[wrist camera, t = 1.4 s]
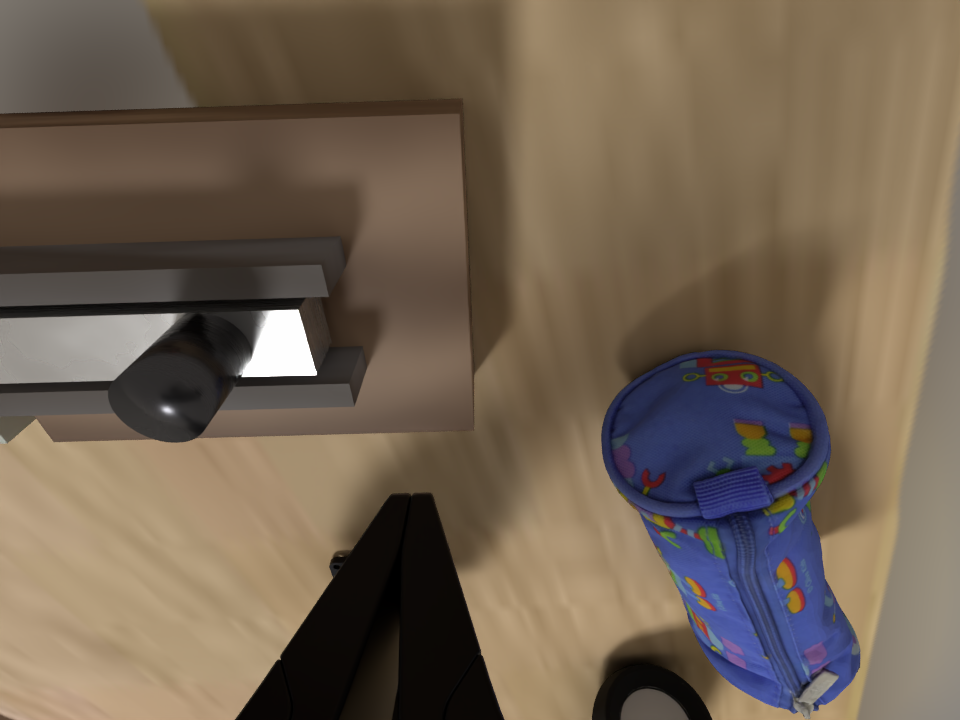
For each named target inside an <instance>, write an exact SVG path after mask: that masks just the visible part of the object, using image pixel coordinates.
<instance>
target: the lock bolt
mask: <svg viewBox="0 0 960 720" xmlns="http://www.w3.org/2000/svg"><path fill="white" fill-rule="evenodd" d="M331 343H332V341H331V337H330V333H329V329H328V325H327V321H326V316H325V312H324V308H323V304H322V300H321V297H305V298H271V299H237V300H203V301H169V302H136V303H102V304H68V305H34V306H0V384H9V383H44V382H79V381H113V382H112V383H111V385H110V387H109V390H108V399H109V403H110V406H111V408H112V410H113V411H114V413H115V414H116V415H117V416H118V418H119V419H120V420H121V421H122V422H123V423H125V424H126V425H127V426H128V427H130V428H131V429H133V430H134V431H136V432H138V433H140V434H142V435H144V436H146V437H149V438H152V439H155V440H159V441H164V442H186V441H190V440H193V439H195V438H197V437H198V436H200V435H201V434H202V433H203V432H204V430H205V429H206V427H207V426H208V424H209V423H210V422H211V420H212V419H213V417H214V416H215V414H216V413H217V411H218V410H219V409H220V407H221V406H222V404H223V403H224V401H225V400H226V398H227V397H228V396H229V394H230V393H231V391H232V390H233V388H234V387H235V385H236V384H237V383H238V381H239V380H240V378H241V377H256V376H291V375H317V372H318V370H319V368H320V366H321V364H322V362H323V360H324V358H325V355H326V353H327V351H328V349H329V347H330V345H331Z"/></svg>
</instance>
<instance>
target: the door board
mask: <svg viewBox="0 0 960 720" xmlns="http://www.w3.org/2000/svg"><path fill="white" fill-rule="evenodd" d="M305 297H321V300H322V304H323V308H324V312H325V316H326V321H327V325H328V329H329V333H330V337H331V341H332V343H331V345H330V347H329V349H328V351H327V353H326V355H325V358H324V360H323V362H322V364H321V366H320V368H319V370H318V372H317V375H291V376H256V377H241V378H240V380H239V381H238V383H237V384H236V385H235V387H234V388H233V390H232V391H231V393H230V394H229V396H228V397H227V398H226V400H225V401H224V403H223V404H222V406H221V407H220V409H219V410H218V411H217V413H216V414H215V416H214V417H213V419H212V420H211V422H210V423H209V424H208V426H207V427H206V429H205V430H204V432H203V433H202V434H201V435H200V436H198V437H197V438H218V437H254V436H290V435H327V434H363V433H399V432H436V431H472V430H474V360H473V337H472V313H471V290H470V266H469V243H468V219H467V196H466V173H465V149H464V126H463V102H462V99H442V100H411V101H380V102H349V103H318V104H287V105H256V106H225V107H194V108H166V109H165V108H164V109H134V110H102V111H71V112H41V113H9V114H0V306H34V305H68V304H102V303H136V302H169V301H203V300H237V299H271V298H305ZM112 382H113V381H79V382H44V383H9V384H0V417H6V416H35V418H36V419H37V420H38V422H39V423H40V424H41V426H42V427H43V428H44V430H45V431H46V432H47V434H48V435H49V436H50V438H51V439H52V440H53V442H72V441H109V440H145V439H152V438H149V437H146V436H144V435H142V434H140V433H138V432H136V431H134V430H133V429H131V428H130V427H128V426H127V425H126V424H125V423H123V422H122V421H121V420H120V419H119V418H118V416H117V415H116V414H115V413H114V411H113V410H112V408H111V406H110V403H109V399H108V390H109V387H110V385H111V383H112Z"/></svg>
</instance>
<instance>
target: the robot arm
mask: <svg viewBox="0 0 960 720" xmlns="http://www.w3.org/2000/svg"><path fill="white" fill-rule="evenodd" d="M329 567H330V570H331V573H332V576H333V579H332V581H331V582H330V584H329V585H328V586H327V588H326V589H325V591H324V592H323V594H322V595H321V597H320V598H319V600H318V601H317V603H316V604H315V606H314V607H313V608H312V610H311V611H310V613H309V614H308V616H307V617H306V619H305V620H304V622H303V623H302V625H301V626H300V627H299V629H298V630H297V632H296V633H295V635H294V636H293V638H292V639H291V641H290V642H289V644H288V645H287V647H286V648H285V649H284V651H283V652H282V654H281V656H280V658H281V660H277V661H276V662H275V664H274V665H273V667H272V668H271V670H270V671H269V673H268V674H267V676H266V677H265V678H264V680H263V681H262V683H261V684H260V686H259V687H258V688H257V690H256V691H255V693H254V694H253V695H252V697H251V698H250V700H249V701H248V702H247V704H246V705H245V707H244V708H243V709H242V711H241V712H240V714H239V715H238V716H237V718H236V719H235V720H504V717H503V715H502V712H501V710H500V707H499V704H498V701H497V698H496V695H495V692H494V690H493V687H492V684H491V681H490V678H489V675H488V671H487V668H486V665H485V662H484V658H483V656H482V655H481V649H480V646H479V643H478V640H477V636H476V633H475V630H474V627H473V623H472V620H471V617H470V614H469V611H468V607H467V604H466V601H465V598H464V594H463V591H462V588H461V585H460V581H459V578H458V575H457V572H456V568H455V565H454V562H453V559H452V555H451V552H450V549H449V546H448V543H447V539H446V536H445V533H444V530H443V526H442V523H441V520H440V517H439V513H438V510H437V507H436V504H435V500H434V497H433V495H432V494H431V493H414V494H413V495H412V496H411V494H409V493H394V494H391V495H390V496H389V497H388V499H387V500H386V501H385V503H384V504H383V506H382V507H381V509H380V510H379V512H378V513H377V515H376V516H375V518H374V519H373V521H372V522H371V523H370V525H369V526H368V528H367V529H366V531H365V532H364V534H363V535H362V537H361V538H360V540H359V541H358V543H357V544H356V545H355V547H354V548H353V550H352V551H351V553H350V554H349V556H348V557H336V558H333V559H332V560H331V562H330V566H329Z"/></svg>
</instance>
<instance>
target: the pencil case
mask: <svg viewBox="0 0 960 720" xmlns="http://www.w3.org/2000/svg"><path fill="white" fill-rule="evenodd" d="M601 441H602V454H603V460H604V464H605V467H606V470H607V472H608V474H609V476H610V479H611V481H612V482H613V484H614V486H615V487H616V489H617V491H618V492H619V494H620V495H621V496H622V497H623V498H624V499H625V500H626V501H627V502H628V503H629V504H630V505H631V506H632V507H633V508H634V509H635V510H637V511H638V512H639V513H640V515H641V518H642V520H643V522H644V524H645V527H646V529H647V531H648V533H649V535H650V537H651V539H652V541H653V543H654V545H655V547H656V549H657V551H658V553H659V555H660V557H661V558H662V560H663V561H664V563H665V564H666V566H667V568H668V570H669V573H670V575H671V577H672V579H673V580H674V582H675V584H676V586H677V588H678V590H679V592H680V595H681V597H682V600H683V603H684V605H685V608H686V610H687V615H688V619H689V622H690V624H691V627H692V629H693V631H694V633H695V636H696V638H697V640H698V642H699V644H700V646H701V648H702V650H703V652H704V653H705V655H706V656H707V658H708V659H709V661H710V662H711V663H712V665H713V666H714V667H715V668H716V670H717V671H718V672H719V673H720V674H721V675H722V676H723V677H724V678H725V679H727V680H728V681H729V682H730V683H731V684H733V685H734V686H735V687H737V688H739V689H740V690H742V691H744V692H745V693H747V694H749V695H751V696H752V697H754V698H756V699H758V700H760V701H762V702H764V703H766V704H769V705H771V706H774V707H777V708H779V707H780V708H783V709H788V710H790V711H791V712H792V713H793V714H795V713H797V712H800V713H802V714H803V716H804V717H805V718H806V719H810V713H811V712H812V711H818V709H819V708H818V706H819V705H821V704H823V705H826V704H827V703H829V702H830V701H832V700H833V699H835V698H836V697H837V696H838V695H839V694H840V693H841V692H842V691H843V690H844V689H845V688H846V687H847V686H848V685H849V684H850V683H851V682H852V680H853V679H854V677H855V675H856V673H857V672H858V669H859V668H860V646H859V642H858V639H857V637H856V634H855V631H854V630H853V628H852V626H851V624H850V622H849V621H848V619H847V617H846V616H845V614H844V613H843V611H842V610H841V608H840V606H839V604H838V602H837V601H836V598H835V596H834V594H833V592H832V590H831V588H830V586H829V585H828V583H827V581H826V580H825V575H824V568H823V561H822V549H821V543H820V537H819V534H818V531H817V529H816V527H815V525H814V523H813V521H812V518H811V505H810V498H811V497H812V496H813V494H814V493H815V492H816V490H817V489H818V487H819V485H820V484H821V482H822V481H823V478H824V476H825V473H826V470H827V467H828V464H829V460H830V454H831V444H830V435H829V432H828V426H827V422H826V418H825V415H824V413H823V411H822V409H821V407H820V405H819V403H818V402H817V400H816V399H815V397H814V396H813V395H812V393H811V392H810V391H809V390H808V389H807V388H806V387H805V386H804V384H802V383H801V382H800V381H799V380H798V379H797V378H795V377H794V376H793V375H792V374H790V373H789V372H787V371H786V370H784V369H783V368H781V367H780V366H778V365H776V364H774V363H773V362H770V361H768V360H766V359H763V358H761V357H758V356H755V355H752V354H747V353H743V352H738V351H730V350H711V351H705V352H700V353H699V352H694V353H689V354H685V355H681V356H678V357H676V358H674V359H672V360H671V361H668V362H666V363H664V364H662V365H660V366H658V367H656V368H654V369H653V370H651V371H649V372H647V373H645V374H644V375H642V376H640V377H638V378H637V379H635V380H634V381H632V382H631V383H630V384H628V385H627V386H626V387H624V388H623V389H622V390H621V391H620V392H619V393H618V395H617V396H616V397H615V399H614V400H613V401H612V403H611V405H610V406H609V408H608V410H607V412H606V415H605V418H604V422H603V426H602V434H601Z"/></svg>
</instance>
